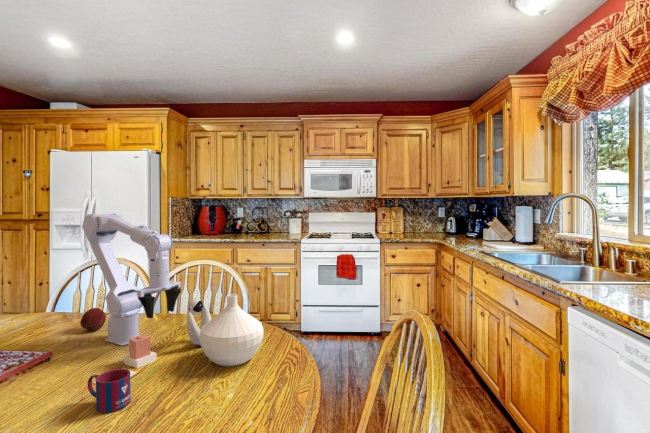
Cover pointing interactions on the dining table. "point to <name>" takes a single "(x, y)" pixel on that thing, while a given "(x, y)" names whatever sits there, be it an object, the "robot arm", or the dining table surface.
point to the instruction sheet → (130, 374)
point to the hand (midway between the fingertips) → (160, 314)
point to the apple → (93, 319)
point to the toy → (192, 328)
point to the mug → (111, 390)
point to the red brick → (139, 346)
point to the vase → (231, 335)
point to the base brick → (140, 360)
